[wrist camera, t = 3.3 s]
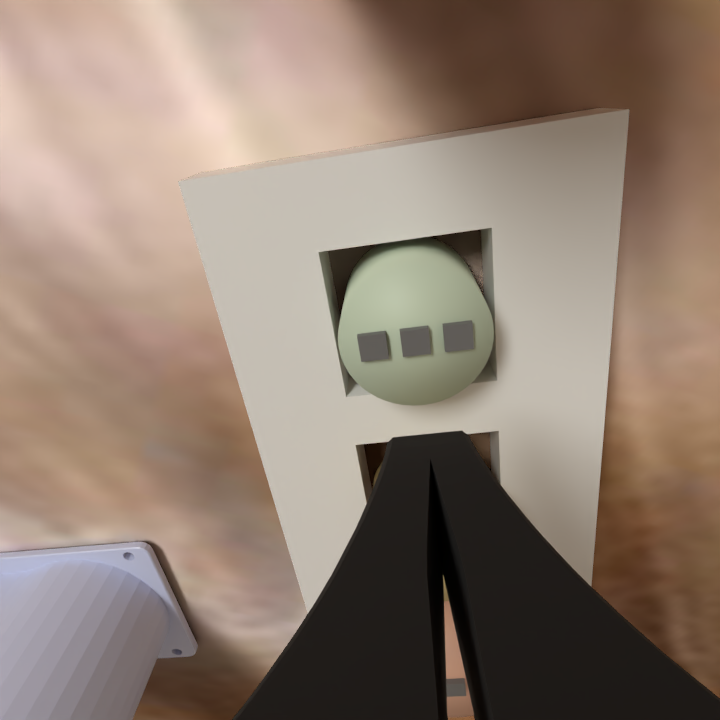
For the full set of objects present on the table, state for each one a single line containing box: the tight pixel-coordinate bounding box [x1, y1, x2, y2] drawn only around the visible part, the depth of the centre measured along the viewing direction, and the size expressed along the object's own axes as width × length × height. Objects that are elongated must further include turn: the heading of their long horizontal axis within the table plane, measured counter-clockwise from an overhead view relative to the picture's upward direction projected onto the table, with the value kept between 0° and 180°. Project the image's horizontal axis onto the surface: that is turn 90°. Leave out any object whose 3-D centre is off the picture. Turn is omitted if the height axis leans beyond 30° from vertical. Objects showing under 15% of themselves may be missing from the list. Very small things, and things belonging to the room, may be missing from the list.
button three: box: [338, 237, 494, 406], centre depth 16 cm, size 4×4×3 cm
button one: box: [444, 601, 474, 717], centre depth 21 cm, size 4×4×3 cm
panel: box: [178, 108, 630, 613], centre depth 20 cm, size 12×24×2 cm, turn 9°
